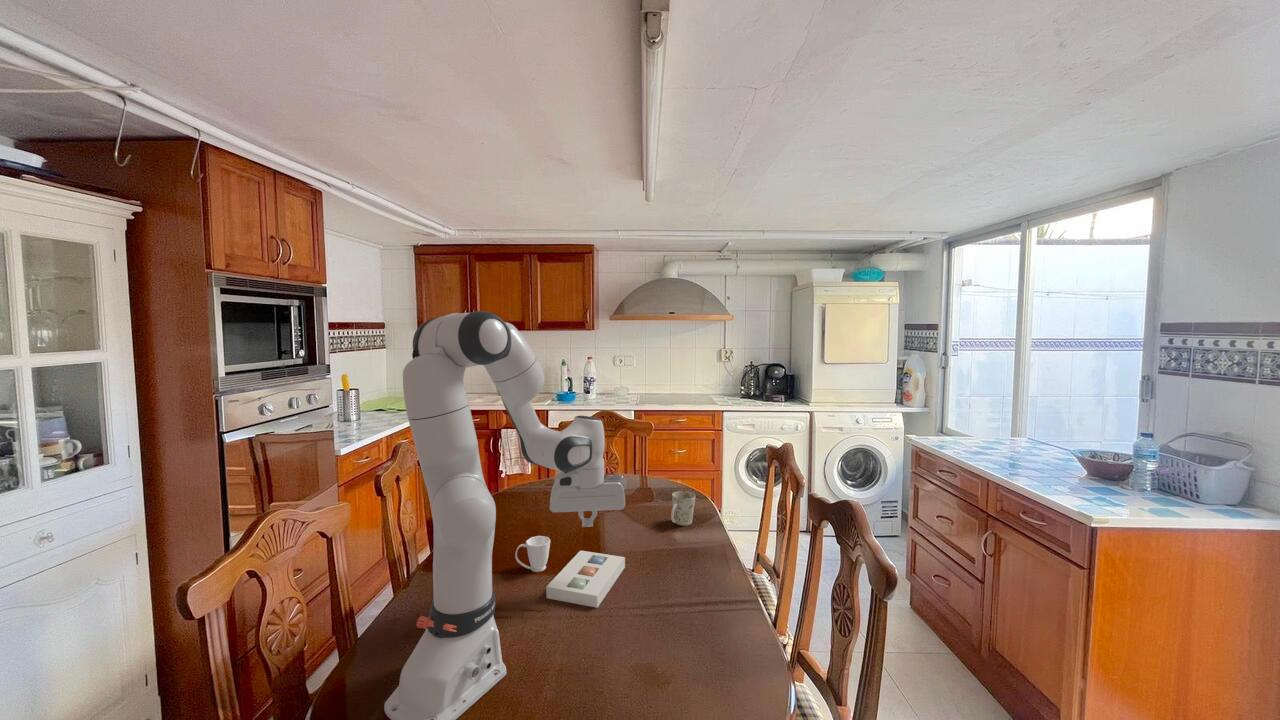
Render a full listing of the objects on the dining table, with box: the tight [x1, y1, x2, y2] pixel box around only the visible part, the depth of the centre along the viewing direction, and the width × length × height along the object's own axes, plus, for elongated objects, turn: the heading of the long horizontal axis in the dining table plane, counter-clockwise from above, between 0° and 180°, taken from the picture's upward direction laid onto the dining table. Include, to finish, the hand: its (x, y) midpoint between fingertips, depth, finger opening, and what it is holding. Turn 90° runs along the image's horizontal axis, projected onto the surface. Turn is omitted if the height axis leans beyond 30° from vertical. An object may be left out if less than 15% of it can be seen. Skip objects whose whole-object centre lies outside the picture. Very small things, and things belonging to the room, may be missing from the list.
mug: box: [670, 490, 696, 527], centre depth 164 cm, size 8×13×10 cm, turn 148°
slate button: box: [590, 556, 604, 565], centre depth 132 cm, size 4×4×3 cm
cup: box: [514, 535, 551, 573], centre depth 133 cm, size 7×10×8 cm
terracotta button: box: [581, 566, 595, 577], centre depth 126 cm, size 4×4×3 cm
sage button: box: [570, 578, 586, 590], centre depth 120 cm, size 4×4×3 cm
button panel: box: [545, 550, 626, 608], centre depth 126 cm, size 21×14×3 cm
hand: (587, 526), depth 125 cm, fingers closed
